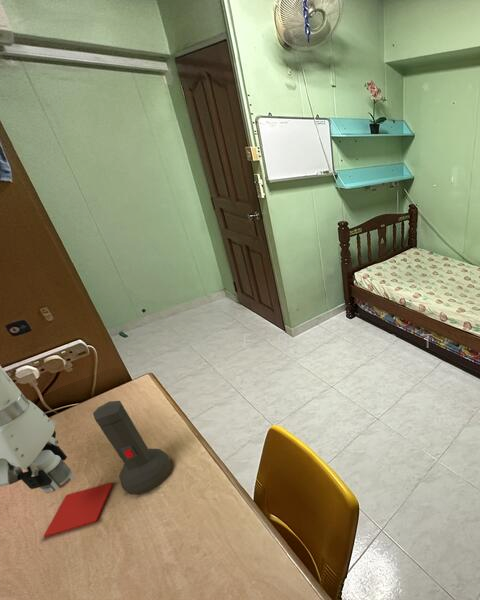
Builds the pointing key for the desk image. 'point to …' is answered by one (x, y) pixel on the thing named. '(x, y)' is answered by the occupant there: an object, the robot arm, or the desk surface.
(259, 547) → the desk surface
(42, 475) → the robot arm
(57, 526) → the red pad
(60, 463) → the pill bottle
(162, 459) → the flashlight
